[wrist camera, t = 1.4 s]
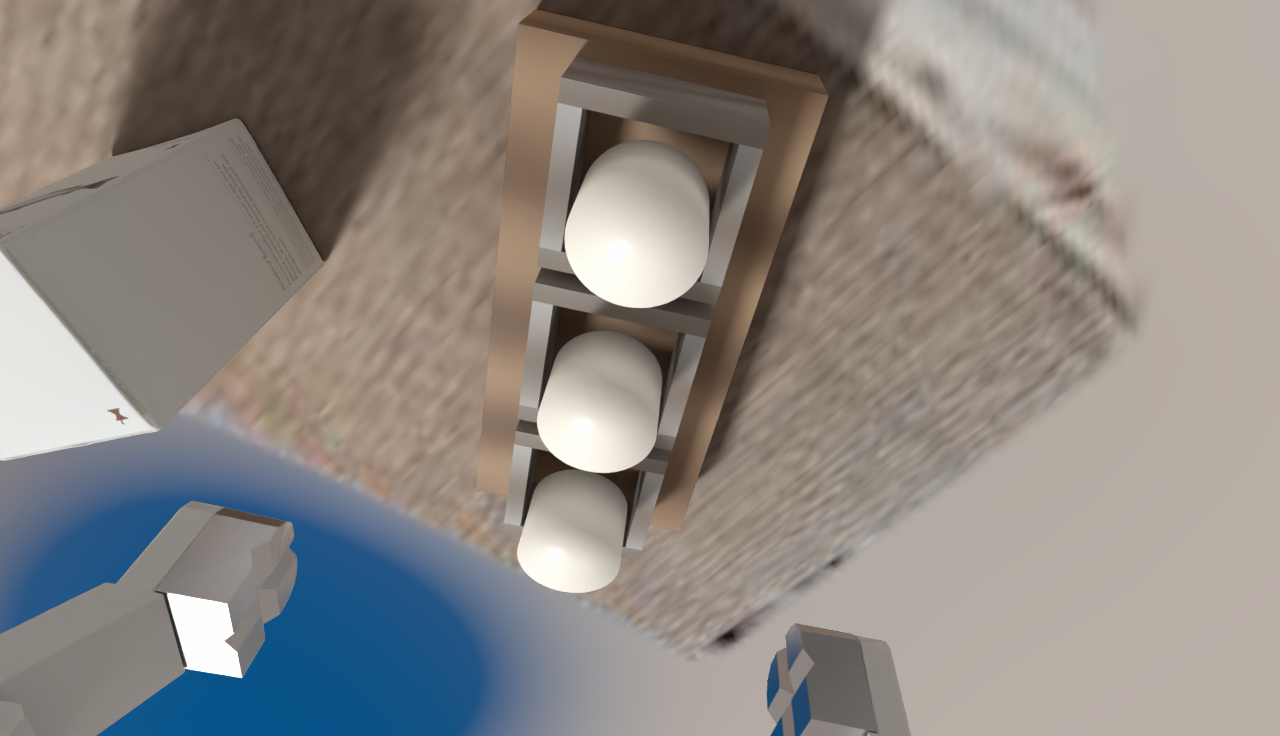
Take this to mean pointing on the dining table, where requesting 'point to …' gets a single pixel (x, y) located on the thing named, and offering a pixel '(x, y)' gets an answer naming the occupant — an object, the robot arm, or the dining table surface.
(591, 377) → the knob middle
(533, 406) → the knob mount
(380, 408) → the dining table surface
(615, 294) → the knob near
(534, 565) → the knob far
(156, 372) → the supplement box
